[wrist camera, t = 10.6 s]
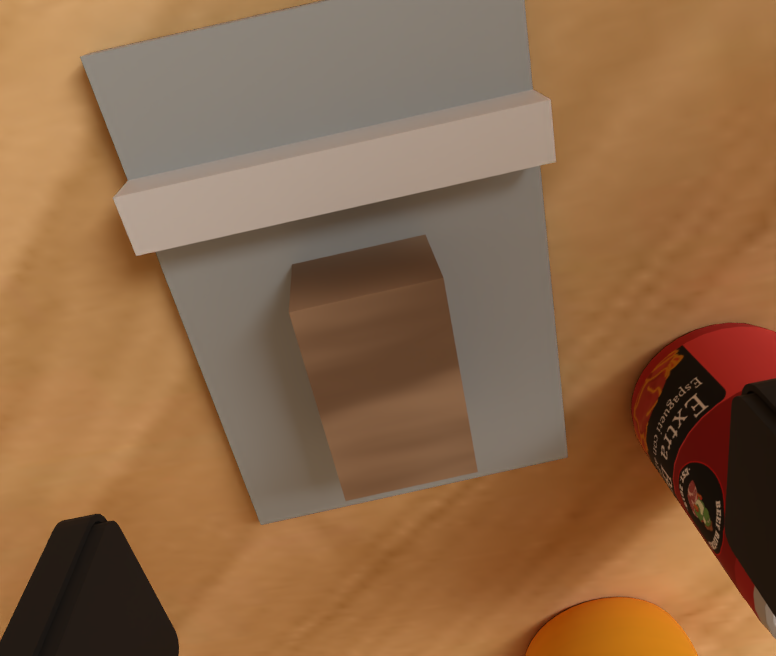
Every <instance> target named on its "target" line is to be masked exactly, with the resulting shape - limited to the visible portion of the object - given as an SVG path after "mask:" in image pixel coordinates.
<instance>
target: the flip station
mask: <svg viewBox="0 0 776 656" xmlns="http://www.w3.org/2000/svg"><path fill="white" fill-rule="evenodd" d="M80 58H81V60H82V63H83V66H84V68H85V71H86V73H87V76H88V79H89V81H90V84H91V86H92V89H93V92H94V94H95V97H96V99H97V102H98V105H99V107H100V110H101V112H102V115H103V117H104V120H105V123H106V125H107V128H108V130H109V133H110V136H111V138H112V141H113V143H114V146H115V149H116V151H117V154H118V156H119V159H120V161H121V164H122V167H123V169H124V172H125V174H126V177H127V180H128V181H127V182H126V183H125V184H124V185H123V187H122V188H121V189H120V190H119V191H118V192H117V194H116V195H115V196H114V197H113V200H114V202H115V205H116V207H117V210H118V212H119V215H120V217H121V220H122V222H123V225H124V227H125V230H126V232H127V234H128V237H129V239H130V242H131V244H132V247H133V249H134V252H135V254H136V256H139V255H143V254H148V253H152V252H156V255H157V257H158V260H159V262H160V265H161V268H162V270H163V273H164V275H165V278H166V281H167V283H168V286H169V288H170V291H171V294H172V296H173V299H174V301H175V304H176V306H177V309H178V312H179V314H180V317H181V319H182V322H183V325H184V327H185V330H186V332H187V335H188V338H189V340H190V343H191V345H192V348H193V351H194V353H195V356H196V358H197V361H198V363H199V366H200V369H201V371H202V374H203V376H204V379H205V382H206V384H207V387H208V389H209V392H210V395H211V397H212V400H213V402H214V405H215V407H216V410H217V413H218V415H219V418H220V420H221V423H222V426H223V428H224V431H225V433H226V436H227V439H228V441H229V444H230V446H231V449H232V451H233V454H234V457H235V459H236V462H237V464H238V467H239V470H240V472H241V475H242V477H243V480H244V483H245V485H246V488H247V490H248V493H249V496H250V498H251V501H252V503H253V506H254V508H255V511H256V514H257V516H258V519H259V521H260V524H261V525H264V524H268V523H273V522H277V521H282V520H286V519H291V518H296V517H300V516H305V515H309V514H314V513H318V512H323V511H327V510H332V509H336V508H341V507H345V506H350V505H354V504H359V503H364V502H368V501H373V500H377V499H382V498H386V497H391V496H395V495H400V494H404V493H409V492H413V491H418V490H422V489H427V488H431V487H436V486H441V485H445V484H450V483H454V482H459V481H463V480H468V479H472V478H477V477H481V476H486V475H490V474H495V473H499V472H504V471H509V470H513V469H518V468H522V467H527V466H531V465H536V464H540V463H545V462H549V461H554V460H558V459H563V458H567V457H568V452H567V441H566V431H565V421H564V410H563V400H562V389H561V379H560V368H559V358H558V347H557V337H556V326H555V316H554V305H553V295H552V284H551V274H550V264H549V253H548V243H547V232H546V222H545V211H544V201H543V190H542V180H541V169H540V165H545V164H549V163H554V162H556V155H555V143H554V131H553V119H552V107H551V99H549V98H547V97H546V96H544V95H542V94H540V93H539V92H537V91H535V90H533V86H532V75H531V65H530V54H529V44H528V33H527V23H526V12H525V2H524V0H322V1H318V2H313V3H309V4H305V5H300V6H296V7H291V8H287V9H283V10H278V11H274V12H269V13H265V14H260V15H256V16H252V17H247V18H243V19H238V20H234V21H230V22H225V23H221V24H216V25H212V26H207V27H203V28H199V29H194V30H190V31H185V32H181V33H177V34H172V35H168V36H163V37H159V38H155V39H150V40H146V41H141V42H137V43H132V44H128V45H124V46H119V47H115V48H110V49H106V50H102V51H97V52H93V53H89V54H86V55H84V56H81V57H80ZM421 235H426V237H427V239H428V242H429V244H430V247H431V249H432V251H433V254H434V256H435V259H436V261H437V263H438V266H439V268H440V271H441V273H442V275H443V278H444V283H445V289H446V294H447V300H448V306H449V311H450V317H451V323H452V328H453V334H454V340H455V345H456V351H457V357H458V362H459V368H460V374H461V379H462V385H463V391H464V396H465V402H466V407H467V413H468V419H469V424H470V430H471V436H472V441H473V447H474V453H475V458H476V464H477V470H478V472H476V473H471V474H467V475H462V476H458V477H453V478H448V479H444V480H439V481H435V482H430V483H426V484H421V485H417V486H412V487H408V488H403V489H399V490H394V491H390V492H385V493H381V494H376V495H372V496H367V497H363V498H358V499H354V500H349V501H345V498H344V494H343V491H342V488H341V484H340V481H339V478H338V474H337V471H336V468H335V464H334V461H333V458H332V454H331V451H330V448H329V444H328V441H327V438H326V435H325V431H324V428H323V425H322V421H321V418H320V415H319V411H318V408H317V405H316V401H315V398H314V395H313V391H312V388H311V385H310V382H309V378H308V375H307V372H306V368H305V365H304V362H303V358H302V355H301V352H300V348H299V345H298V342H297V338H296V335H295V332H294V328H293V325H292V322H291V319H290V315H289V300H290V286H291V272H292V264H296V263H300V262H305V261H309V260H314V259H318V258H323V257H327V256H332V255H336V254H340V253H345V252H349V251H354V250H358V249H363V248H367V247H372V246H376V245H381V244H385V243H390V242H394V241H398V240H403V239H407V238H412V237H416V236H421Z"/></svg>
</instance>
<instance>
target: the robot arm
mask: <svg viewBox="0 0 776 656" xmlns="http://www.w3.org/2000/svg"><path fill="white" fill-rule="evenodd" d="M724 527H725V534H726V538H727V541H728V544H729V546H730V548H731V550H732V552H733V553H734V555H735V556H736V558H737V559H738V561H739V562H740V564H741V565H742V567H743V569H744V570H745V572H746V573H747V575H748V576H749V578H750V579H751V581H752V582H753V584H754V585H755V587H756V588H757V590H758V591H759V593H760V594H761V596H762V598H763V599H764V601H765V602H766V604H767V605H768V607H769V608H770V610H771V611H772V613H773V614H774V616H775V617H776V378H774V379H769V380H764V381H759V382H754V383H749V384H746V385H745V386H744V387H743V389H742V394H741V395H740V396H736V397H734V398H733V400H732V404H731V420H730V437H729V454H728V472H727V489H726V506H725V523H724ZM178 654H179V644H178V637H177V634H176V631H175V629H174V627H173V626H172V624H171V622H170V620H169V618H168V616H167V614H166V613H165V611H164V609H163V607H162V605H161V603H160V601H159V599H158V598H157V596H156V594H155V592H154V590H153V588H152V586H151V585H150V583H149V581H148V579H147V577H146V575H145V573H144V572H143V570H142V568H141V566H140V564H139V562H138V560H137V558H136V557H135V555H134V553H133V551H132V549H131V547H130V545H129V544H128V542H127V540H126V538H125V536H124V534H123V532H122V530H121V529H120V527H119V525H118V524H117V523H116V522H115V521H107V520H106V519H105V517H104V516H102V515H101V514H94V515H89V516H84V517H79V518H74V519H69V520H64V521H61V522H59V523H58V524H57V525H56V527H55V528H54V530H53V532H52V534H51V536H50V538H49V540H48V542H47V545H46V547H45V549H44V551H43V553H42V555H41V557H40V559H39V561H38V563H37V566H36V568H35V570H34V572H33V574H32V576H31V578H30V580H29V582H28V584H27V586H26V589H25V591H24V593H23V595H22V597H21V599H20V601H19V603H18V605H17V607H16V610H15V612H14V614H13V616H12V618H11V620H10V622H9V624H8V626H7V628H6V631H5V633H4V635H3V637H2V639H1V641H0V656H178Z"/></svg>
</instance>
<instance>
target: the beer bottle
mask: <svg viewBox="0 0 776 656" xmlns="http://www.w3.org/2000/svg"><path fill="white" fill-rule="evenodd" d="M525 656H698V654H697V652H696V650H695V648H694V647H693V645H692V643H691V641H690V639H689V638H688V636H687V635H686V633H685V632H684V630H683V629H682V628H681V626H680V625H679V624H678V623H677V622H676V621H675V620H674V619H673V618H672V616H671V615H670V614H669V613H667V612H666V611H664V610H663V609H661V608H660V607H658V606H657V605H655V604H652V603H650V602H647V601H644V600H640V599H635V598H630V597H610V598H601V599H596V600H592V601H588V602H585V603H582V604H579V605H577V606H574V607H572V608H570V609H568V610H566V611H564V612H562V613H560V614H559V615H557V616H556V617H554V618H553V619H551V620H550V621H549V622H548V623H546V624H545V625H544V626H543V627H542V628H541V629H540V630H539V631H538V633H537V634H536V635H535V637H534V638H533V639H532V641H531V643H530V645H529V647H528V649H527V651H526V655H525Z"/></svg>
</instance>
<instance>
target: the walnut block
mask: <svg viewBox="0 0 776 656" xmlns="http://www.w3.org/2000/svg"><path fill="white" fill-rule="evenodd" d="M289 315H290V319H291V322H292V325H293V328H294V332H295V335H296V338H297V342H298V345H299V348H300V352H301V355H302V358H303V362H304V365H305V368H306V372H307V375H308V378H309V382H310V385H311V388H312V391H313V395H314V398H315V401H316V405H317V408H318V411H319V415H320V418H321V421H322V425H323V428H324V431H325V435H326V438H327V441H328V444H329V448H330V451H331V454H332V458H333V461H334V464H335V468H336V471H337V474H338V478H339V481H340V484H341V488H342V491H343V494H344V498H345V501H349V500H354V499H358V498H363V497H367V496H372V495H376V494H381V493H385V492H390V491H394V490H399V489H403V488H408V487H412V486H417V485H421V484H426V483H430V482H435V481H439V480H444V479H448V478H453V477H458V476H462V475H467V474H471V473H476V472H478V470H477V464H476V458H475V453H474V447H473V441H472V436H471V430H470V424H469V419H468V413H467V407H466V402H465V396H464V391H463V385H462V379H461V374H460V368H459V362H458V357H457V351H456V345H455V340H454V334H453V328H452V323H451V317H450V311H449V306H448V300H447V294H446V289H445V283H444V278H443V275H442V273H441V271H440V268H439V266H438V263H437V261H436V259H435V256H434V254H433V251H432V249H431V247H430V244H429V242H428V239H427V237H426V235H421V236H416V237H412V238H407V239H403V240H398V241H394V242H390V243H385V244H381V245H376V246H372V247H367V248H363V249H358V250H354V251H349V252H345V253H340V254H336V255H332V256H327V257H323V258H318V259H314V260H309V261H305V262H300V263H296V264H292V272H291V286H290V300H289Z"/></svg>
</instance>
